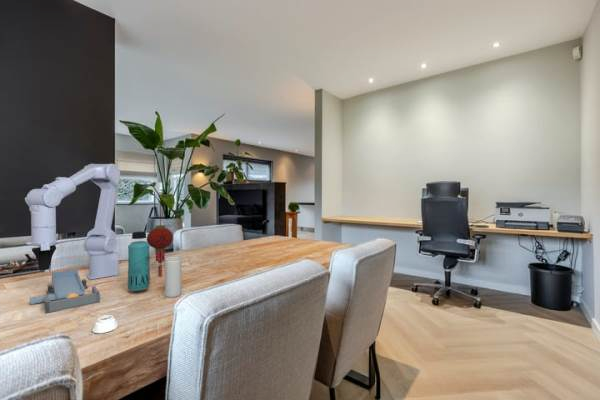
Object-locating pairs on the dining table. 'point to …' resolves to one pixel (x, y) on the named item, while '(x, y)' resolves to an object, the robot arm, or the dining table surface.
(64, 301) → the dish
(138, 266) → the beverage bottle
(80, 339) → the dining table surface
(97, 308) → the dining table surface
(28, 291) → the dining table surface
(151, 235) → the lantern
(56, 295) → the blue-grey piece
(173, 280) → the beverage can
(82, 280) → the stand
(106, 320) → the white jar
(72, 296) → the ball
